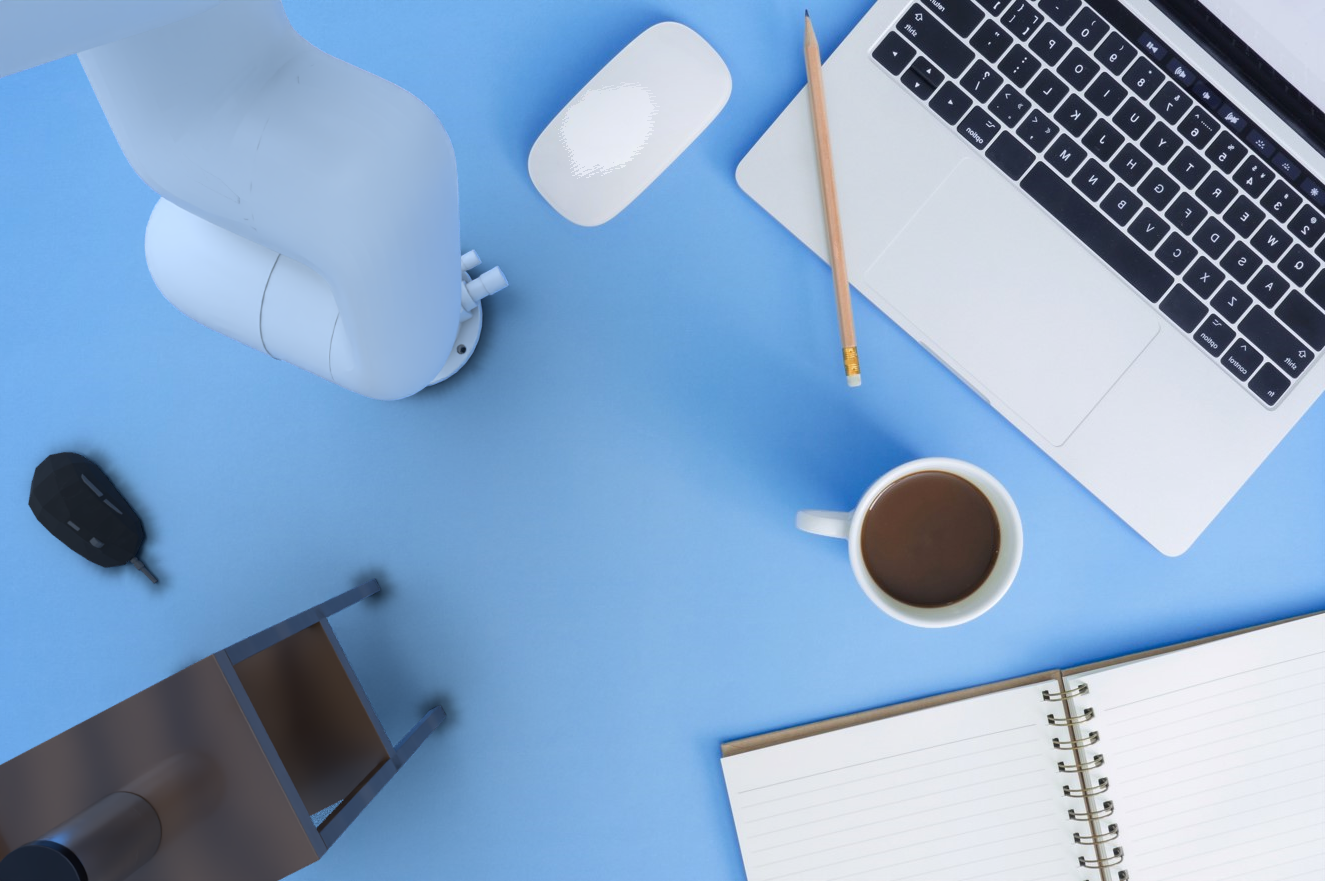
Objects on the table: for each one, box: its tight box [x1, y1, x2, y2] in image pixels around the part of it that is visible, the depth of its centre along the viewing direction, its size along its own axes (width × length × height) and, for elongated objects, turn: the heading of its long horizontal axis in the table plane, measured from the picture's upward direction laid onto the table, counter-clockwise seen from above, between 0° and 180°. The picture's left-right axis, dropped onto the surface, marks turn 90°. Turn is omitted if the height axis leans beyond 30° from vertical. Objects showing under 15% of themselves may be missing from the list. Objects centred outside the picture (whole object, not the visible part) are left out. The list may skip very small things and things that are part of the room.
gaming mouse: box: [27, 451, 158, 585], centre depth 78 cm, size 6×15×4 cm, turn 42°
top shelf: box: [0, 648, 328, 881], centre depth 53 cm, size 20×14×3 cm
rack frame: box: [223, 578, 447, 851], centre depth 67 cm, size 20×14×25 cm
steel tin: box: [0, 792, 161, 881], centre depth 50 cm, size 5×5×7 cm
